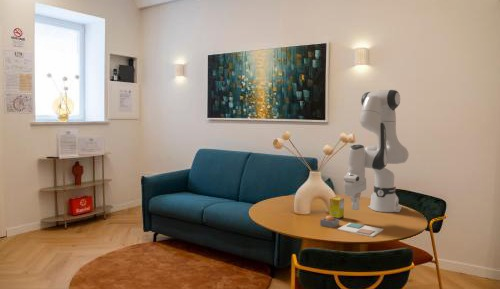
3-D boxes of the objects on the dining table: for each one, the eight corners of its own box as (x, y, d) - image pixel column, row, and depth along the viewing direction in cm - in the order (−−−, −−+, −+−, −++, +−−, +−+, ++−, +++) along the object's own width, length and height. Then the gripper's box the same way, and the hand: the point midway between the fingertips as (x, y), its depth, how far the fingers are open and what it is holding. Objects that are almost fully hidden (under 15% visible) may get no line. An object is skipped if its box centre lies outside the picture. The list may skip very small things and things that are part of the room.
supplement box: (334, 215, 226) (334, 196, 225) (343, 217, 222) (344, 198, 222) (329, 217, 222) (329, 198, 221) (338, 219, 218) (339, 199, 217)
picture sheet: (349, 223, 210) (349, 222, 210) (383, 230, 199) (383, 228, 199) (337, 229, 199) (337, 228, 199) (372, 237, 188) (372, 235, 188)
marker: (353, 207, 215) (353, 189, 214) (360, 208, 213) (361, 190, 211) (349, 209, 212) (350, 190, 211) (357, 210, 209) (357, 192, 208)
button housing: (326, 222, 212) (326, 216, 212) (338, 224, 208) (338, 219, 207) (320, 225, 207) (320, 219, 206) (332, 227, 202) (332, 222, 202)
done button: (327, 220, 210) (328, 215, 210) (334, 222, 207) (335, 216, 207) (324, 222, 207) (324, 216, 206) (331, 223, 204) (331, 218, 204)
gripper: (358, 172, 220) (358, 196, 222) (342, 178, 204) (341, 204, 206) (369, 173, 216) (368, 198, 218) (353, 179, 200) (353, 206, 202)
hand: (355, 201), depth 212 cm, fingers closed on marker, 4 cm apart
